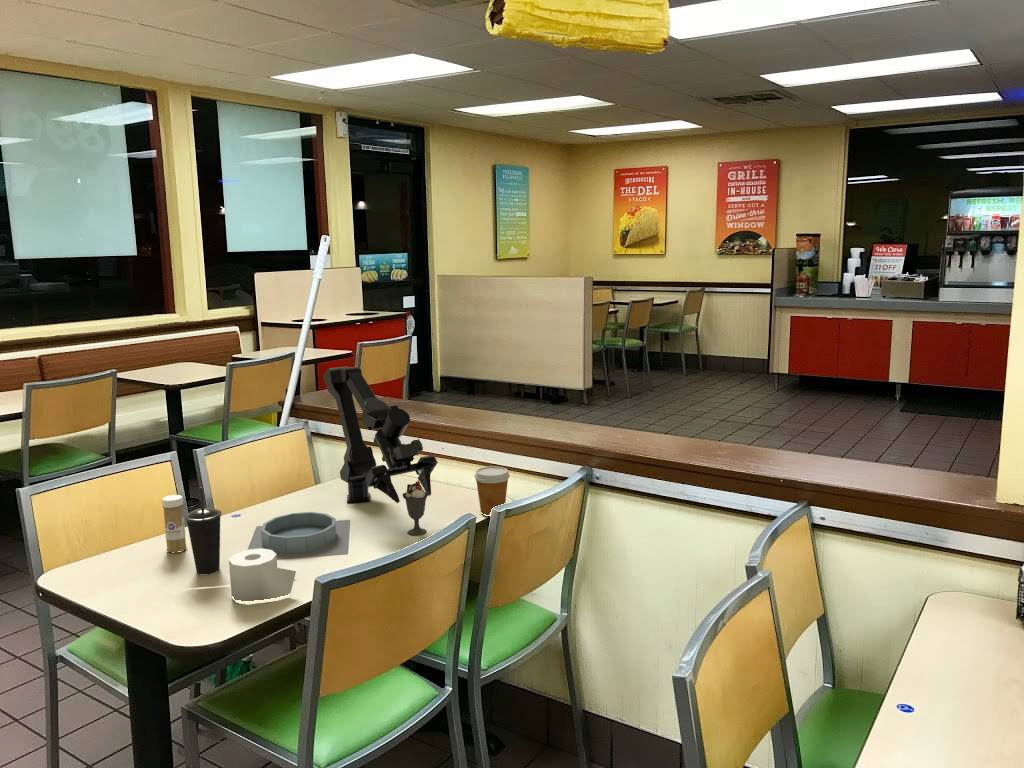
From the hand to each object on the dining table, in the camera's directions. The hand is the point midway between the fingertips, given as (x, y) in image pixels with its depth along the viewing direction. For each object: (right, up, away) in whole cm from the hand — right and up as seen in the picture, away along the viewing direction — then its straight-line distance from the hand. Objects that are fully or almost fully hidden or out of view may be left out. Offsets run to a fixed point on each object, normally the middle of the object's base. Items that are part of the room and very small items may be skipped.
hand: (414, 498), depth 202 cm
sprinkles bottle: (-57, -12, -9) cm, 58 cm away
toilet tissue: (-28, -16, -34) cm, 47 cm away
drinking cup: (-44, -14, -22) cm, 51 cm away
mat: (-28, -10, -4) cm, 30 cm away
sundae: (+1, -9, +1) cm, 9 cm away
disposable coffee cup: (+20, -6, +14) cm, 25 cm away
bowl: (-28, -10, -4) cm, 30 cm away
